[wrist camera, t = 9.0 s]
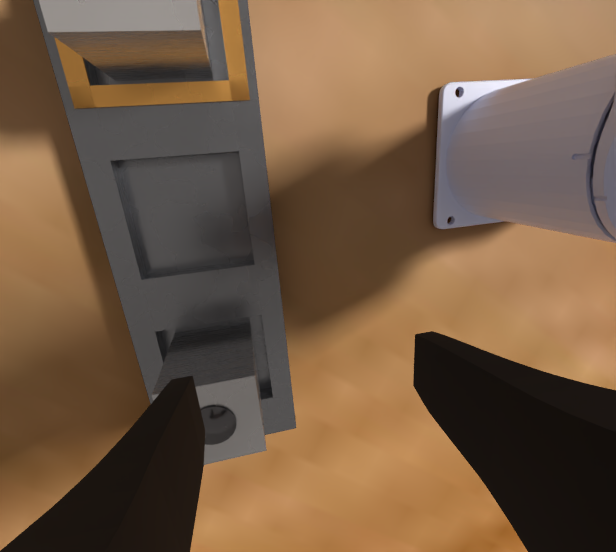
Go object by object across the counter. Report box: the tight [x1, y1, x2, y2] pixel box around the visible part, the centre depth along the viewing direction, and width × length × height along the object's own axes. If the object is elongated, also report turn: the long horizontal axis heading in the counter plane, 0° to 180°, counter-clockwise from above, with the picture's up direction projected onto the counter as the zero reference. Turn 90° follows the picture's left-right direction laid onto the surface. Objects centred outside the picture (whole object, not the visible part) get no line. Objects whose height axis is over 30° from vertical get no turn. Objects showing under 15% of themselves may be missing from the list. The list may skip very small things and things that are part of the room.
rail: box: [33, 0, 296, 435], centre depth 17 cm, size 8×28×2 cm, turn 5°
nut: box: [152, 320, 266, 465], centre depth 17 cm, size 4×4×6 cm
